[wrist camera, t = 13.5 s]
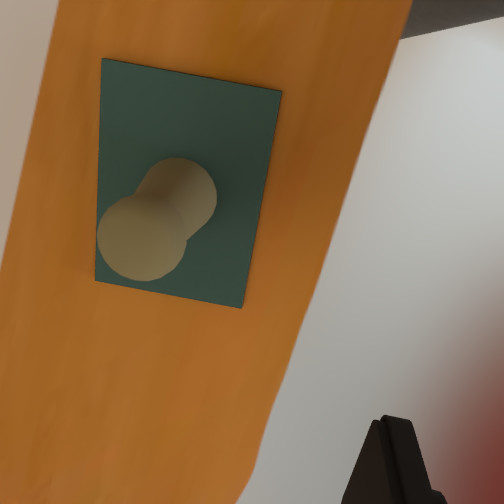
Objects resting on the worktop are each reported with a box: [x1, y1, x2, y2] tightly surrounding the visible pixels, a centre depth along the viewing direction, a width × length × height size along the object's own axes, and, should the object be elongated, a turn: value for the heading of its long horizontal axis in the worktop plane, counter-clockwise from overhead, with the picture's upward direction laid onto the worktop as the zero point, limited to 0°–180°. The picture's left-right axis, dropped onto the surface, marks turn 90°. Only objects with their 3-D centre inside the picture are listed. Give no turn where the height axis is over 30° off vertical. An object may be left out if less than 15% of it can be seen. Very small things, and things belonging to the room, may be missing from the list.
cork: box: [97, 158, 217, 281], centre depth 30 cm, size 6×6×11 cm
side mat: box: [95, 58, 282, 308], centre depth 35 cm, size 13×18×1 cm
